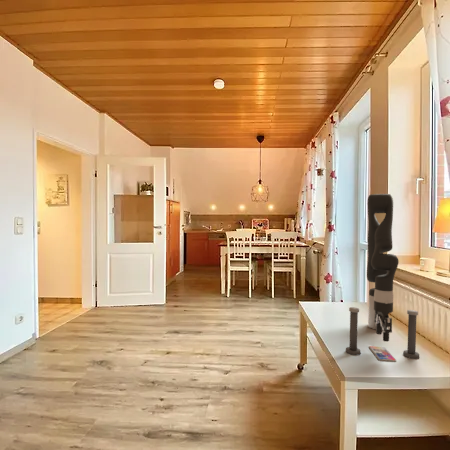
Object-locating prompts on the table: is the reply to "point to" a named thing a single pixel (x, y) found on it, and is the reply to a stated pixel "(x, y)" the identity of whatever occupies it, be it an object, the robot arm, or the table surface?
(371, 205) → the robot arm
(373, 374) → the table surface
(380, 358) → the smartphone
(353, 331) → the knob
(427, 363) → the table surface
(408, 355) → the post
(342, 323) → the table surface
